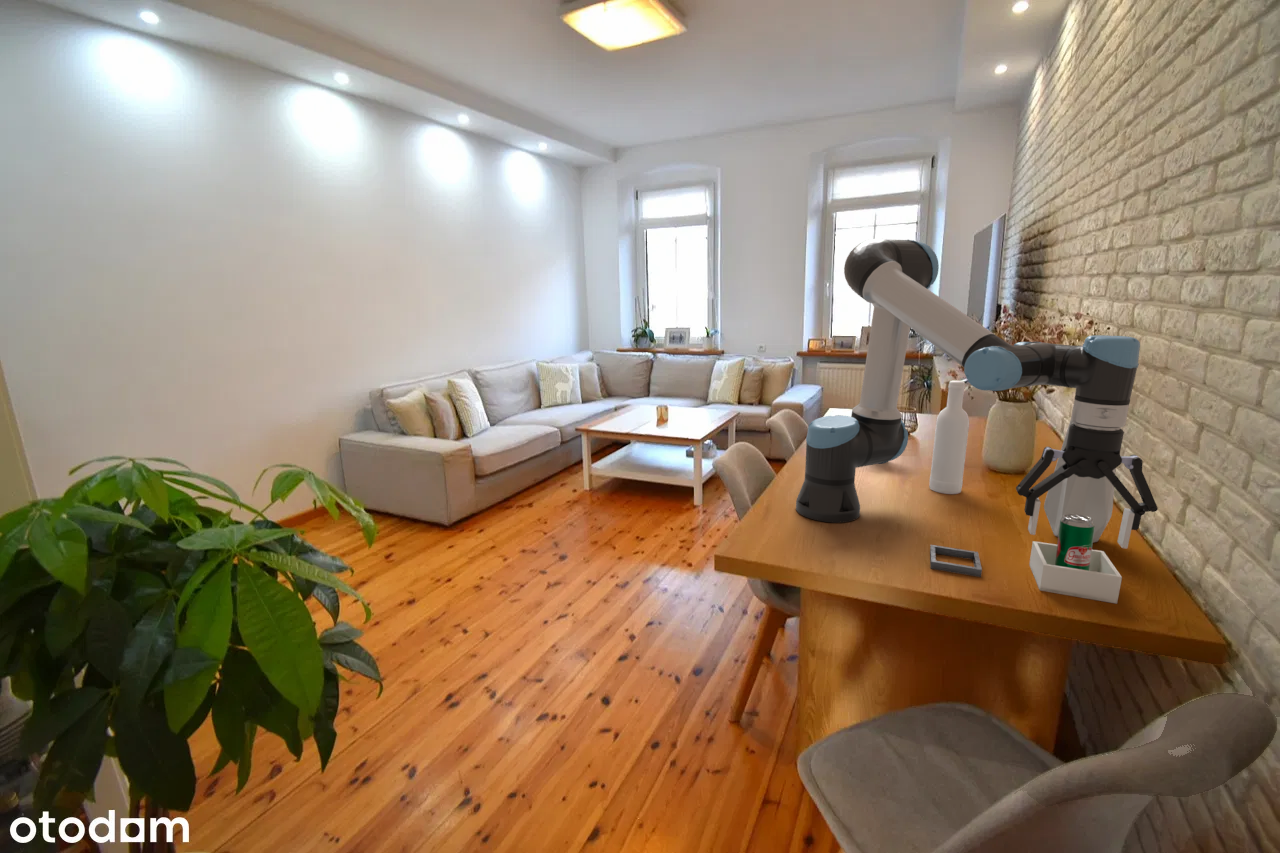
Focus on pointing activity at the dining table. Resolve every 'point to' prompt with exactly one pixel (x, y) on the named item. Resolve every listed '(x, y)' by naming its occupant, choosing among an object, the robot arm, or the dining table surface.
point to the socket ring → (955, 567)
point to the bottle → (950, 443)
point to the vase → (1080, 499)
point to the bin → (1075, 575)
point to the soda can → (1075, 541)
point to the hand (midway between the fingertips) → (1075, 538)
